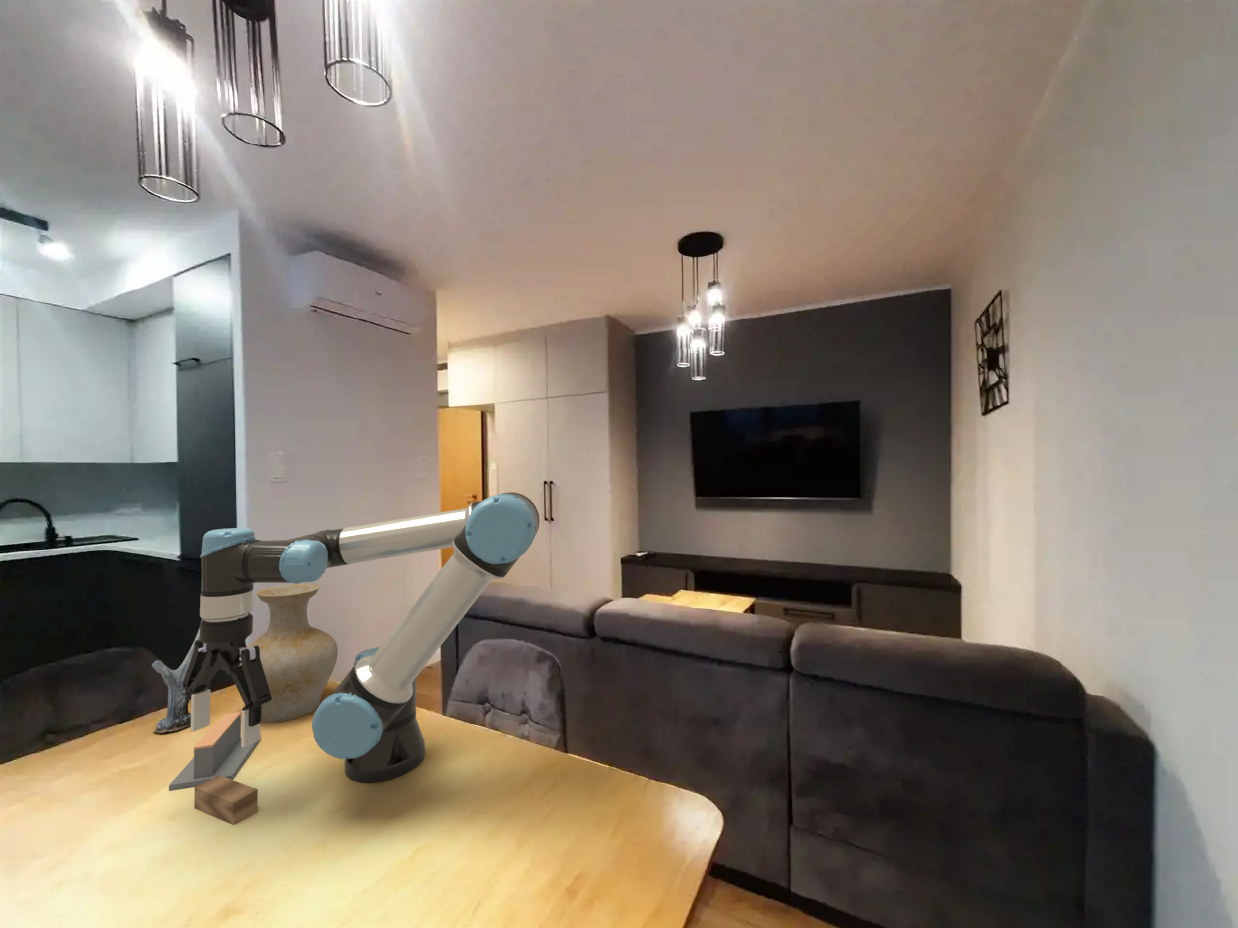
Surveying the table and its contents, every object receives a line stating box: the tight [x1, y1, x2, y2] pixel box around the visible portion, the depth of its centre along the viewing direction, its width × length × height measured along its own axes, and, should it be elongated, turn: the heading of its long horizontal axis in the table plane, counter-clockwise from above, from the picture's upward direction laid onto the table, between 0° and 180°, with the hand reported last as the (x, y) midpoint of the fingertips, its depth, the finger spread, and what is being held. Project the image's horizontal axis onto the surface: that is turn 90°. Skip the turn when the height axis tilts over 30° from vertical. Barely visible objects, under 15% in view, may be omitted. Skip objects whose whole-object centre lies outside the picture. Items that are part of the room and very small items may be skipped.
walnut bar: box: [193, 775, 259, 826], centre depth 92 cm, size 11×4×4 cm, turn 67°
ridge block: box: [168, 711, 262, 791], centre depth 106 cm, size 10×16×7 cm, turn 18°
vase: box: [239, 583, 339, 723], centre depth 130 cm, size 22×22×30 cm
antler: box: [151, 618, 203, 734], centre depth 123 cm, size 12×8×25 cm
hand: (224, 735), depth 92 cm, fingers open, 13 cm apart
